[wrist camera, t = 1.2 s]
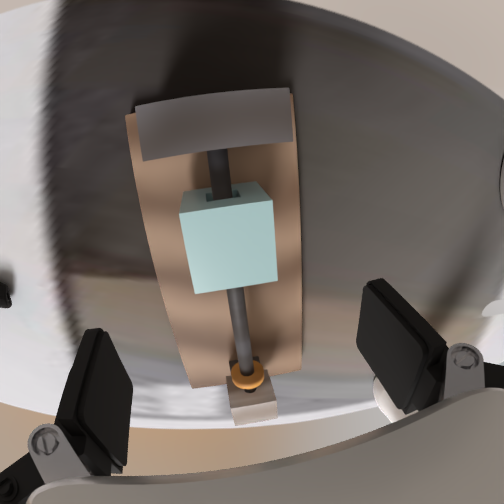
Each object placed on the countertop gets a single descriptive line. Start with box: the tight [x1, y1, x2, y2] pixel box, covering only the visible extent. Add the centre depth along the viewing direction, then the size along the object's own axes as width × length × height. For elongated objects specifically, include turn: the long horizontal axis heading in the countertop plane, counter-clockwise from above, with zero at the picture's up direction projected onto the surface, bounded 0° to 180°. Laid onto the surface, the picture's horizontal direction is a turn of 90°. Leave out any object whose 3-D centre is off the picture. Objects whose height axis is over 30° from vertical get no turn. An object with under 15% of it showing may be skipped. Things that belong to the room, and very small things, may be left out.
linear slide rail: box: [125, 88, 302, 426], centre depth 23 cm, size 27×12×8 cm, turn 5°
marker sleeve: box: [179, 181, 278, 294], centre depth 19 cm, size 5×5×5 cm
